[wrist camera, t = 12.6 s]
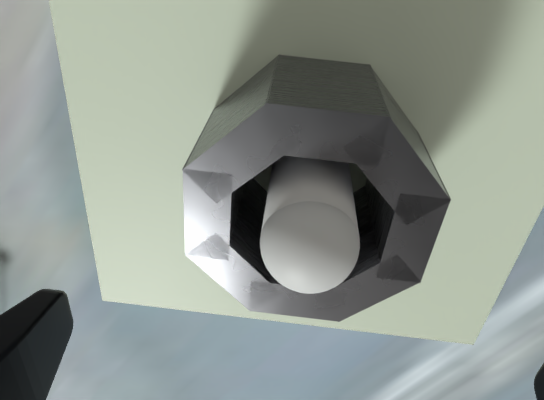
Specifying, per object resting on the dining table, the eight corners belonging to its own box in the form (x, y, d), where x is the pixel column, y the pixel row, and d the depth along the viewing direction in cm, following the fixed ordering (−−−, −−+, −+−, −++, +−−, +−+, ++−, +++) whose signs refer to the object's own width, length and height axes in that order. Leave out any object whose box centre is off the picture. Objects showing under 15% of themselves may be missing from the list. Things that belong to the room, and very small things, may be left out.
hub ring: (435, 70, 13) (478, 126, 9) (385, 244, 16) (403, 329, 13) (214, 46, 13) (179, 92, 9) (211, 224, 16) (185, 303, 13)
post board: (671, -115, 11) (1080, -152, 5) (465, 322, 20) (529, 495, 14) (42, -175, 11) (-250, -275, 5) (113, 281, 20) (29, 431, 14)
